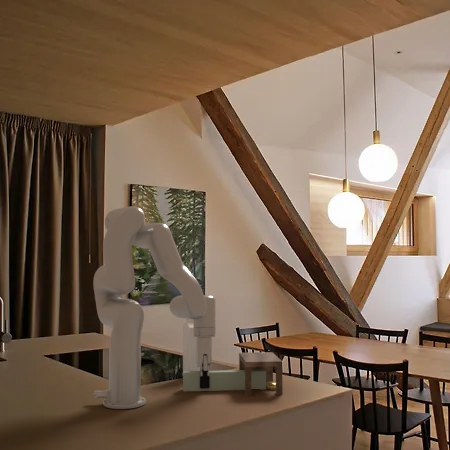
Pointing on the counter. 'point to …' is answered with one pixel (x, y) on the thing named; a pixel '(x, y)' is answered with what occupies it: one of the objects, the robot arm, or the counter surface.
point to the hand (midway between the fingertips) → (204, 386)
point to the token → (271, 385)
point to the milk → (189, 347)
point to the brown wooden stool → (261, 368)
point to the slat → (224, 380)
